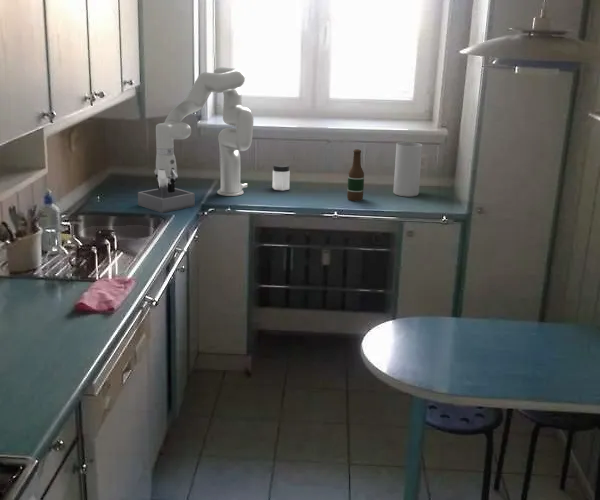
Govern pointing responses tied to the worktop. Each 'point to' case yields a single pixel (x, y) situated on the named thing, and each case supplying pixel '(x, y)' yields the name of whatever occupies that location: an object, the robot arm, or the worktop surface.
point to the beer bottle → (355, 178)
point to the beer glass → (164, 184)
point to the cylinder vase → (407, 169)
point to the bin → (166, 200)
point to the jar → (281, 177)
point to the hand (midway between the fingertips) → (166, 190)
